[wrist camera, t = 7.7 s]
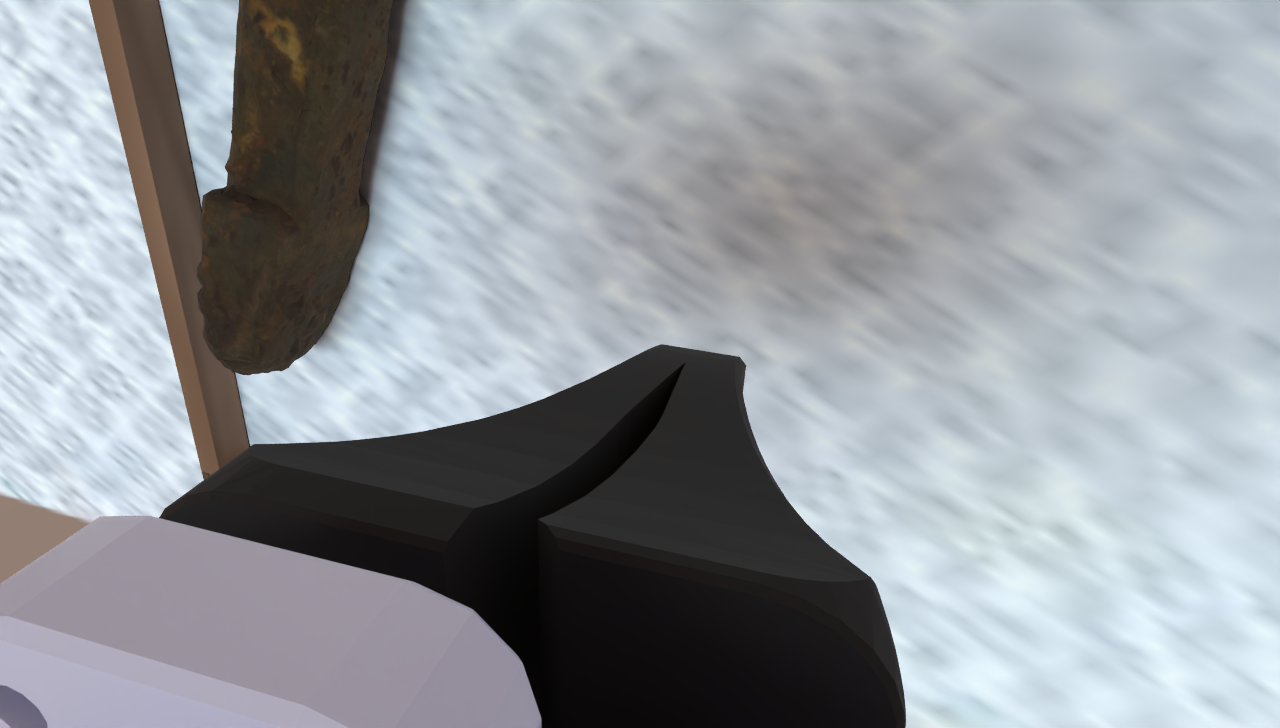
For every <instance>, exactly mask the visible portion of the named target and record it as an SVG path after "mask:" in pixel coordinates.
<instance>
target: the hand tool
mask: <svg viewBox="0 0 1280 728" xmlns="http://www.w3.org/2000/svg"><path fill="white" fill-rule="evenodd" d="M392 5H393V0H239V13H238V20H237V35H236V56H235V69H234V91H233V108H232V109H233V115H232V131H231V133H232V142H231V149H230V156H229V159H228V161H227V164H226V166H225V169H226V170H227V172H228V178H227V186H226V187H224V188H221V189H214V190H212V191H210V192H208V193H207V194H205V195H203V201H202V212H201V220H200V234H201V241H202V258H201V262H200V263H199V265H198V267H197V278H198V280H199V282H200V283H201V285H202V288H201V289H200V290H199V292H198V293H197V299H198V308H199V310H200V312H201V313H202V314H203V318H204V327H203V337H204V339H205V341H206V344H207V346H208V348H209V350H210V351H211V352H212V354H213V355H214V356H215V357H216V359H217V360H219V361H220V362H221V363H222V365H223V366H224V367H225V368H227V369H230V370H231V371H232V372H236V373H239V374H242V375H251V374H259V373H269V372H271V371H278V370H279V371H283V370H285V369H287V368H289V366H290V365H291V364H292V363H293V362H294V361H295V360H297V359H298V358H300V357H302V356H303V355H305V354H306V353H307V352H308V351H309V350H310V349H311V348H312V347H313V346H314V344H315V345H316V342H317V341H318V339H319V338H320V337H321V335H322V334H323V332H324V330H325V329H326V328H327V326H328V324H329V322H330V320H331V317H332V315H333V313H334V311H335V310H336V308H337V305H338V303H339V301H340V298H341V296H342V294H343V292H344V291H345V288H346V285H347V283H348V280H349V271H350V269H351V266H352V263H353V261H354V258H355V257H356V254H357V251H358V248H359V246H360V243H361V240H362V238H363V235H364V233H365V230H366V227H367V222H368V217H369V205H368V203H367V202H366V201H365V200H364V198H363V197H362V196H361V195H360V194H359V187H360V183H361V175H362V164H363V159H364V154H365V149H366V145H367V141H368V136H369V132H370V126H371V121H372V116H373V111H374V106H375V101H376V96H377V91H378V87H379V84H380V81H381V79H382V76H383V71H384V66H385V63H386V57H387V51H388V30H389V21H390V15H391V10H392Z"/></svg>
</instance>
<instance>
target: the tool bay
mask: <svg viewBox="0 0 1280 728" xmlns="http://www.w3.org/2000/svg"><path fill="white" fill-rule="evenodd" d="M89 3H90V7H91V12H92V16H93V20H94V24H95V28H96V32H97V37H98V41H99V45H100V49H101V53H102V57H103V62H104V66H105V70H106V74H107V78H108V83H109V87H110V91H111V95H112V99H113V103H114V108H115V112H116V116H117V120H118V124H119V128H120V133H121V137H122V141H123V145H124V149H125V153H126V158H127V162H128V166H129V170H130V174H131V178H132V183H133V187H134V191H135V195H136V199H137V203H138V208H139V212H140V216H141V220H142V224H143V228H144V233H145V237H146V241H147V245H148V249H149V253H150V258H151V262H152V266H153V270H154V274H155V278H156V283H157V287H158V291H159V295H160V299H161V304H162V308H163V312H164V316H165V320H166V324H167V329H168V333H169V337H170V341H171V345H172V349H173V354H174V358H175V362H176V366H177V370H178V374H179V379H180V383H181V387H182V391H183V395H184V399H185V404H186V408H187V412H188V416H189V420H190V424H191V429H192V433H193V437H194V441H195V445H196V449H197V454H198V458H199V462H200V466H201V470H202V474H203V479H204V480H205V479H206V478H208V477H209V476H211V475H212V474H213V473H215V472H216V471H217V470H219V469H220V468H222V467H223V466H224V465H226V464H227V463H228V462H230V461H231V460H233V459H234V458H235V457H237V456H238V455H239V454H241V453H242V452H244V451H245V450H246V449H248V448H249V443H248V438H247V433H246V428H245V423H244V418H243V414H242V409H241V404H240V399H239V394H238V389H237V384H236V379H235V374H234V372H232V371H231V370H230V369H227V368H225V367H224V366H223V365H222V363H221V362H220V361H219V360H217V359H216V357H215V356H214V355H213V354H212V352H211V351H210V350H209V348H208V346H207V344H206V341H205V339H204V337H203V327H204V318H203V314H202V313H201V312H200V310H199V308H198V299H197V293H198V292H199V290H200V289H201V288H202V285H201V283H200V282H199V280H198V278H197V267H198V265H199V263H200V262H201V258H202V241H201V234H200V220H201V208H200V203H199V198H198V193H197V189H196V184H195V179H194V174H193V169H192V164H191V159H190V154H189V149H188V145H187V140H186V135H185V130H184V125H183V120H182V115H181V110H180V105H179V101H178V96H177V91H176V86H175V81H174V76H173V71H172V66H171V61H170V57H169V52H168V47H167V42H166V37H165V32H164V27H163V22H162V17H161V13H160V8H159V3H158V0H89Z"/></svg>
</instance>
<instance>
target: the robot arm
mask: <svg viewBox="0 0 1280 728" xmlns="http://www.w3.org/2000/svg"><path fill="white" fill-rule="evenodd" d="M745 369H746V365H745V363H744V362H743V361H742V359H741V358H740V357H737V356H731V355H724V354H718V353H712V352H706V351H700V350H693V349H687V348H681V347H675V346H668V345H662V344H661V345H658V346H655V347H653V348H651V349H648V350H646V351H644V352H642V353H640V354H638V355H636V356H634V357H632V358H630V359H628V360H627V361H625V362H623V363H621V364H619V365H617V366H615V367H613V368H611V369H609V370H607V371H605V372H603V373H601V374H599V375H597V376H595V377H593V378H591V379H588V380H586V381H584V382H582V383H579V384H577V385H575V386H572V387H570V388H568V389H565V390H563V391H561V392H558V393H556V394H554V395H551V396H549V397H547V398H544V399H542V400H539V401H537V402H534V403H531V404H528V405H525V406H523V407H520V408H517V409H513V410H510V411H507V412H504V413H500V414H497V415H494V416H490V417H487V418H483V419H479V420H475V421H470V422H466V423H461V424H456V425H452V426H447V427H442V428H437V429H433V430H428V431H423V432H417V433H411V434H404V435H397V436H390V437H381V438H372V439H362V440H352V441H339V442H318V443H291V444H254V445H252V446H250V447H249V448H248V449H246V450H245V451H244V452H242V453H241V454H239V455H238V456H237V457H235V458H234V459H233V460H231V461H230V462H228V463H227V464H226V465H224V466H223V467H222V468H220V469H219V470H217V471H216V472H215V473H213V474H212V475H211V476H209V477H208V478H206V479H205V480H204V481H202V482H201V483H199V484H198V485H197V486H195V487H194V488H193V489H191V490H190V491H188V492H187V493H186V494H184V495H183V496H182V497H180V498H179V499H177V500H176V501H175V502H173V503H172V504H171V505H169V506H168V507H166V508H165V509H164V511H163V513H162V514H161V516H160V517H159V518H156V517H152V516H110V517H99V518H97V519H96V520H94V521H93V522H91V523H90V524H88V525H87V526H85V527H84V528H83V529H81V530H79V531H78V532H76V533H75V534H74V535H72V536H71V537H69V538H68V539H66V540H65V541H63V542H62V543H60V544H59V545H57V546H56V547H54V548H53V549H51V550H50V551H48V552H47V553H45V554H44V555H42V556H41V557H39V558H38V559H36V560H35V561H33V562H32V563H30V564H29V565H27V566H26V567H24V568H23V569H21V570H20V571H18V572H17V573H15V574H14V575H12V576H11V577H9V578H8V579H6V580H5V581H3V582H2V583H0V728H905V726H906V709H905V699H904V691H903V685H902V679H901V673H900V668H899V663H898V658H897V654H896V649H895V645H894V642H893V638H892V634H891V630H890V627H889V623H888V620H887V617H886V614H885V610H884V607H883V604H882V601H881V598H880V595H879V592H878V589H877V586H876V584H875V583H874V581H873V580H872V578H871V577H869V576H868V575H867V574H866V573H864V572H863V571H862V570H860V569H859V568H858V567H856V566H855V565H854V564H852V563H851V562H850V561H849V560H847V559H846V558H845V557H843V556H842V555H841V554H839V553H838V552H837V551H836V550H834V549H833V548H832V547H830V546H829V545H828V544H827V543H826V542H825V541H824V540H823V539H822V538H821V537H820V536H819V535H818V534H816V533H815V532H814V531H813V530H812V529H811V528H810V527H809V526H808V525H807V524H806V523H805V522H804V520H803V519H802V518H801V517H800V515H799V514H798V513H797V512H796V511H795V509H794V508H793V507H792V506H791V504H790V503H789V502H788V501H787V499H786V498H785V496H784V494H783V493H782V491H781V490H780V488H779V487H778V485H777V483H776V482H775V480H774V478H773V477H772V475H771V473H770V471H769V469H768V467H767V466H766V464H765V461H764V459H763V457H762V455H761V453H760V451H759V448H758V446H757V443H756V440H755V438H754V435H753V433H752V429H751V426H750V423H749V420H748V416H747V412H746V407H745V403H744V398H743V386H744V378H745Z"/></svg>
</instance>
